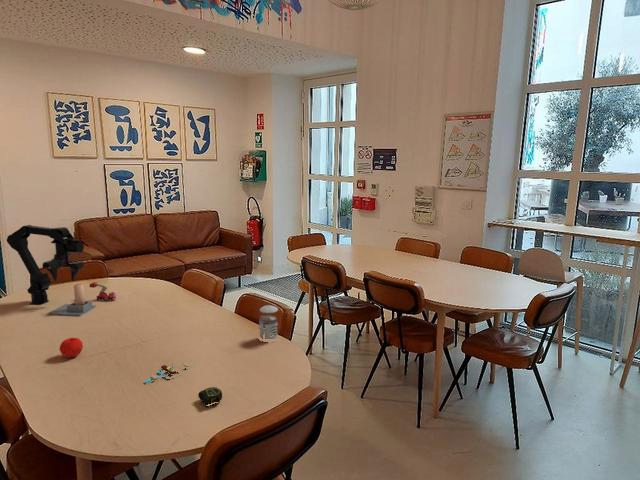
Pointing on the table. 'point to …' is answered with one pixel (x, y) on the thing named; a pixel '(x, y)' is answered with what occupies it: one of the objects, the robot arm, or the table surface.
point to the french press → (268, 319)
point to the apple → (71, 347)
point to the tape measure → (210, 395)
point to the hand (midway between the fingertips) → (64, 280)
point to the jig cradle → (73, 309)
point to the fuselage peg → (79, 295)
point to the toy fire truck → (103, 293)
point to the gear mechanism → (165, 370)
